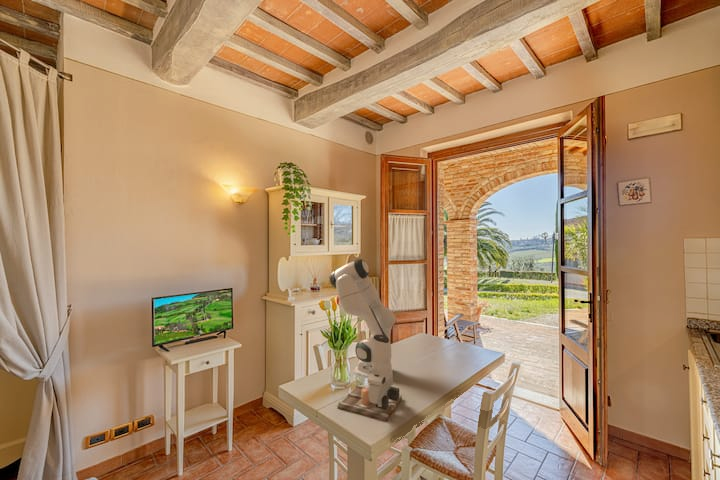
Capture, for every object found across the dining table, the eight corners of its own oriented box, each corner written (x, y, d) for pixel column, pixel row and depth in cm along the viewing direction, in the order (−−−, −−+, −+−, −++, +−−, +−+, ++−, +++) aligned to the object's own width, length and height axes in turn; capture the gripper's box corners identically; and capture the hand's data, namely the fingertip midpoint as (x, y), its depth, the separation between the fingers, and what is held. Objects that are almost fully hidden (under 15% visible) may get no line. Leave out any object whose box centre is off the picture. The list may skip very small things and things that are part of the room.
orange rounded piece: (359, 404, 140) (359, 391, 140) (364, 399, 145) (364, 386, 144) (369, 406, 138) (369, 393, 138) (374, 401, 142) (374, 388, 142)
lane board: (337, 408, 141) (337, 403, 141) (357, 388, 159) (357, 384, 159) (386, 421, 131) (386, 416, 131) (401, 398, 149) (401, 394, 149)
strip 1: (355, 406, 140) (355, 394, 140) (362, 399, 146) (362, 387, 146) (384, 414, 134) (384, 401, 134) (390, 406, 140) (390, 394, 140)
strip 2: (367, 398, 147) (367, 386, 147) (373, 391, 153) (373, 380, 153) (395, 405, 141) (395, 393, 141) (400, 397, 147) (400, 386, 147)
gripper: (383, 362, 149) (383, 391, 149) (365, 381, 130) (366, 413, 130) (396, 365, 146) (396, 394, 146) (379, 383, 127) (380, 417, 128)
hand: (382, 403), depth 138 cm, fingers open, 3 cm apart
